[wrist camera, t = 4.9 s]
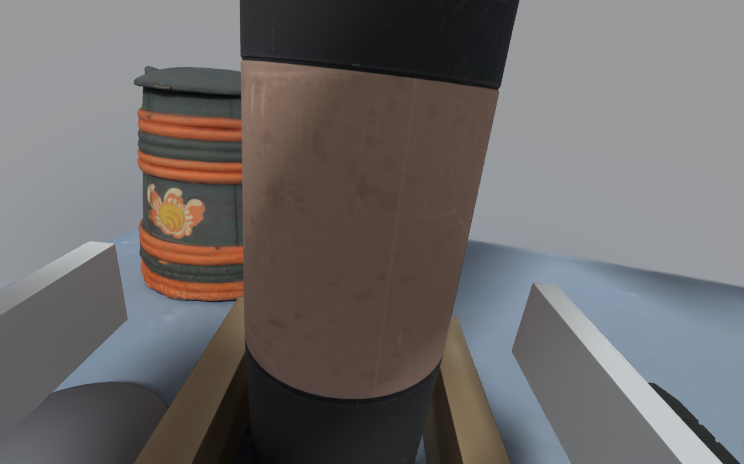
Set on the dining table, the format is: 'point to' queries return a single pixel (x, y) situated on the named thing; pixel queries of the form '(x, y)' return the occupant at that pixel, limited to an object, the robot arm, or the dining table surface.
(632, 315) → the dining table surface
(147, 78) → the beer stein
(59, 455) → the coaster
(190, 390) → the frame
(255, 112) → the travel mug
